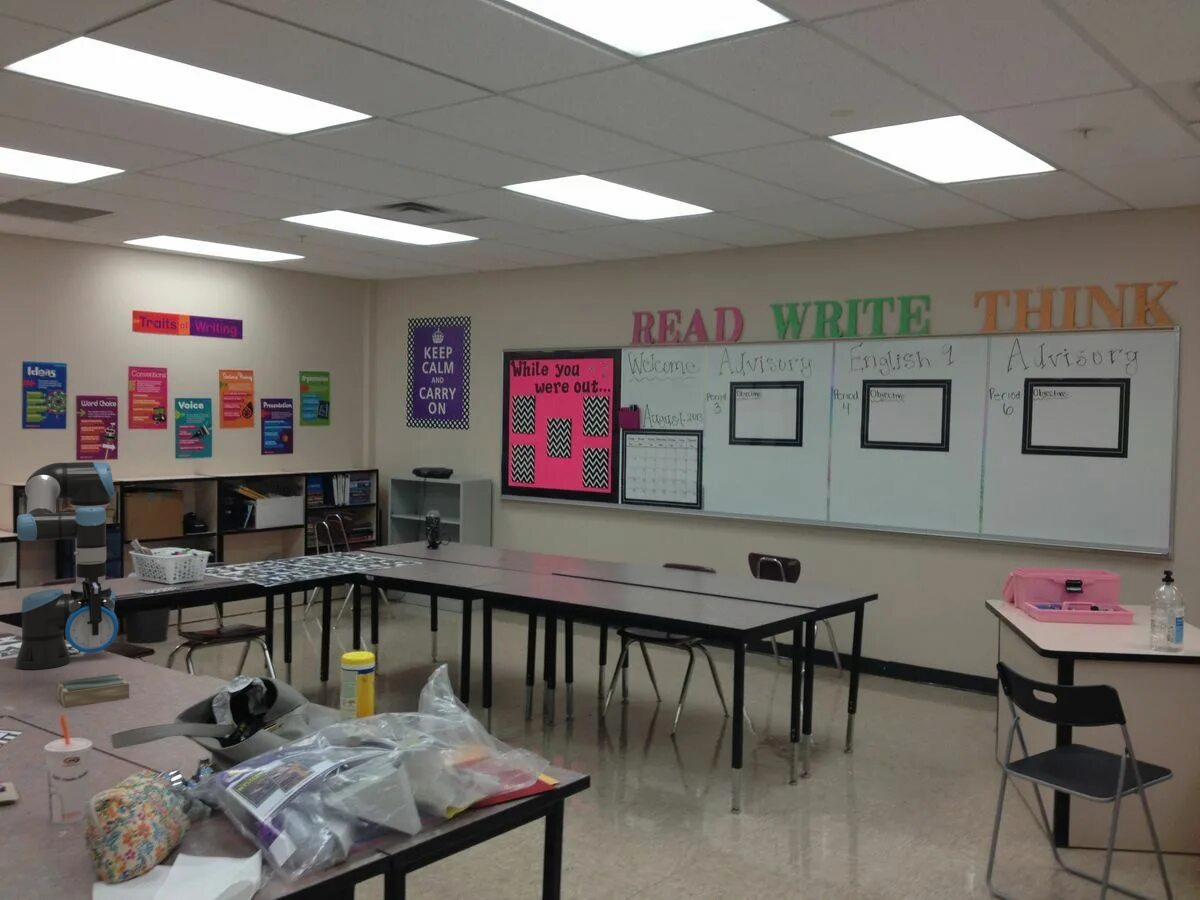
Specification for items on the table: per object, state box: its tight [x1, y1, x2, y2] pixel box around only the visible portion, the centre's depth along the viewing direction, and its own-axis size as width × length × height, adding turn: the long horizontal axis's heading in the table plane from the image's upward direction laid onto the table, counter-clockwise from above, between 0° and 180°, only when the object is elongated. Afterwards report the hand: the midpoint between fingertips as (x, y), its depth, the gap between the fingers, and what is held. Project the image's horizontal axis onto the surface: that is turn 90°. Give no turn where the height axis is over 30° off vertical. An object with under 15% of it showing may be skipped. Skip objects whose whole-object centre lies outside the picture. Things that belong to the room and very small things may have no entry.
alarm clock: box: [64, 597, 119, 655], centre depth 286 cm, size 13×6×15 cm, turn 116°
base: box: [56, 673, 130, 708], centre depth 286 cm, size 14×16×4 cm
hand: (92, 644), depth 286 cm, fingers closed on alarm clock, 7 cm apart
